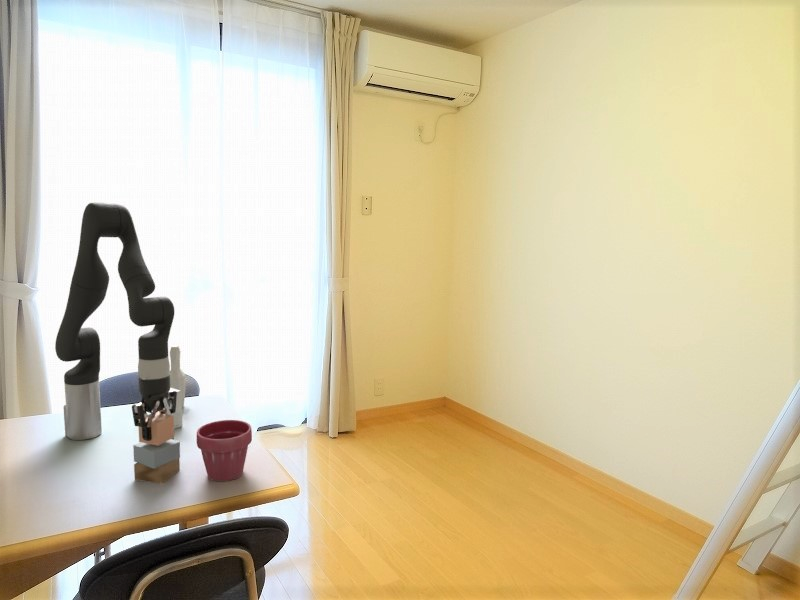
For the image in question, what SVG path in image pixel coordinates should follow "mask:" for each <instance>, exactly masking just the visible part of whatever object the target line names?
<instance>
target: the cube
mask: <svg viewBox="0 0 800 600" xmlns="http://www.w3.org/2000/svg"><path fill="white" fill-rule="evenodd" d="M147 420H148V417H147V418H146V421H145V422H147ZM139 422H140V420H139ZM150 427H151V434H152V439H151V440H150V441H146V440H144V439H143V438H142V427H138V443H140V442H142V443H147V444H152V445H157V446H158V445H160V444H162V443H164V442H166V441H168V440H170V439H172V438H173V437H174V438H175V429H174V417H173V416H172V415H166V414H160V413H159V412H157V413H156V415H155V418H153V419H152V422H151V426H150Z"/></svg>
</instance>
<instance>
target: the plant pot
mask: <svg viewBox="0 0 800 600" xmlns="http://www.w3.org/2000/svg"><path fill="white" fill-rule="evenodd" d="M252 431H253V430H252V426H251V424H250V423H248V422H246V421H243V420H237V419H223V420H216V421H212V422H208V423H206V424H204V425H202V426H200V427H198V429H197V430H196V446H197V448H198V449H199V450H200V452H201V457H202V460H203V463H204V467H205V471H206V474H207V478H209V479H210V480H212V481H215V482H228V481H229V482H230V481H232V480H237V478H239V477H241V476H242V475H243V473H244V469H245V468H244V467H245V463H246V459H247V455H248V448H249V445H250V444H251V442H252V440H253V436H252V435H253V432H252Z"/></svg>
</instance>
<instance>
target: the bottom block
mask: <svg viewBox="0 0 800 600" xmlns="http://www.w3.org/2000/svg"><path fill="white" fill-rule="evenodd" d="M180 467H181V466H180V458H178V459H176V460H173V461H171V462H169V463H167V464H164V465H162V466H160V467H157V468H155V469H154V468H151V467H148V466H145V465H143V464H140V463H137V462H135V463H134V464H133V469H134V471H133V472H134V481H141V482H148V483H149V482H150V483H156V484H157V483H158V484H164V483H165V482H167V481H168V480H169V479H170V478H172V477H173V476H174V475H175V474H176V473H177V472H179V471H180Z"/></svg>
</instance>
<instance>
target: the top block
mask: <svg viewBox="0 0 800 600" xmlns="http://www.w3.org/2000/svg"><path fill="white" fill-rule="evenodd" d="M180 443H181V442H180V441H178V440H177V439H176V440H175V439H174V440H173V439H170V440H168V441H166V442H164V443H162V444H160V445H158V446H157V445H152V444H147V443H142V442H137V443H136V444H133V447H132V448H133V462H135V463H140V464H143V465H145V466H148V467H151V468H154V469H155V468H157V467H160V466H162V465H164V464H167V463H169V462H171V461H173V460H176V459H178V458H179V459H181V450H180V449H181V448H180V446H181V445H180Z"/></svg>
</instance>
